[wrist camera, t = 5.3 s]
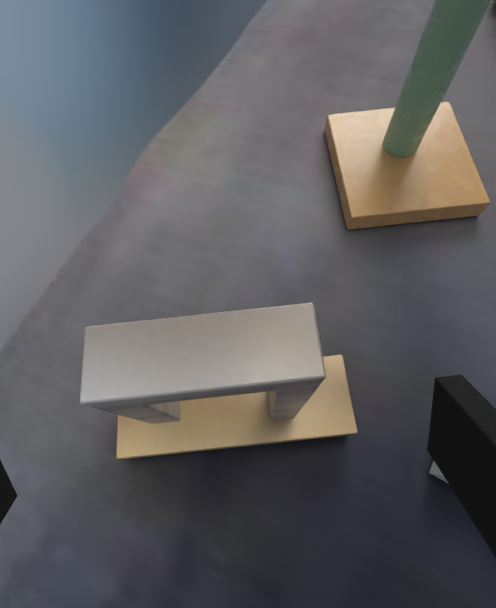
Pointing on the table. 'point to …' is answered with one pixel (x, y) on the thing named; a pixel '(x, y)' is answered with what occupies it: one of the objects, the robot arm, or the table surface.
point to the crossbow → (437, 472)
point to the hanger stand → (412, 137)
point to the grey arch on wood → (216, 381)
